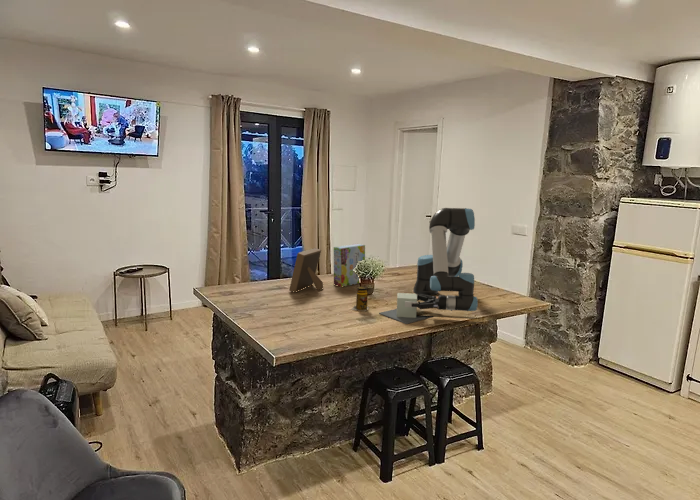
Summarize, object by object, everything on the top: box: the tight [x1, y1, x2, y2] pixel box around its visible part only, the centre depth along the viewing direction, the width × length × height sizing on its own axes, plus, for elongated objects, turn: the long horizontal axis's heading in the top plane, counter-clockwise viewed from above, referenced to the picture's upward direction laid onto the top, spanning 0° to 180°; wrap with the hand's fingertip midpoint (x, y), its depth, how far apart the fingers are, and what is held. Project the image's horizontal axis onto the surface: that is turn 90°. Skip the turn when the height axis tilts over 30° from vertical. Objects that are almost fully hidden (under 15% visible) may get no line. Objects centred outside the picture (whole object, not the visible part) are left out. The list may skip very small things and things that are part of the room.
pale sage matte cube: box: [396, 292, 418, 318], centre depth 241 cm, size 10×10×10 cm
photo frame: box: [288, 247, 324, 293], centre depth 287 cm, size 15×22×25 cm
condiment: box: [350, 286, 370, 312], centre depth 252 cm, size 7×8×12 cm
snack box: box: [333, 243, 366, 288], centre depth 305 cm, size 22×9×26 cm, turn 133°
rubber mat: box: [378, 308, 434, 325], centre depth 242 cm, size 20×20×1 cm
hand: (404, 300), depth 241 cm, fingers open, 13 cm apart
